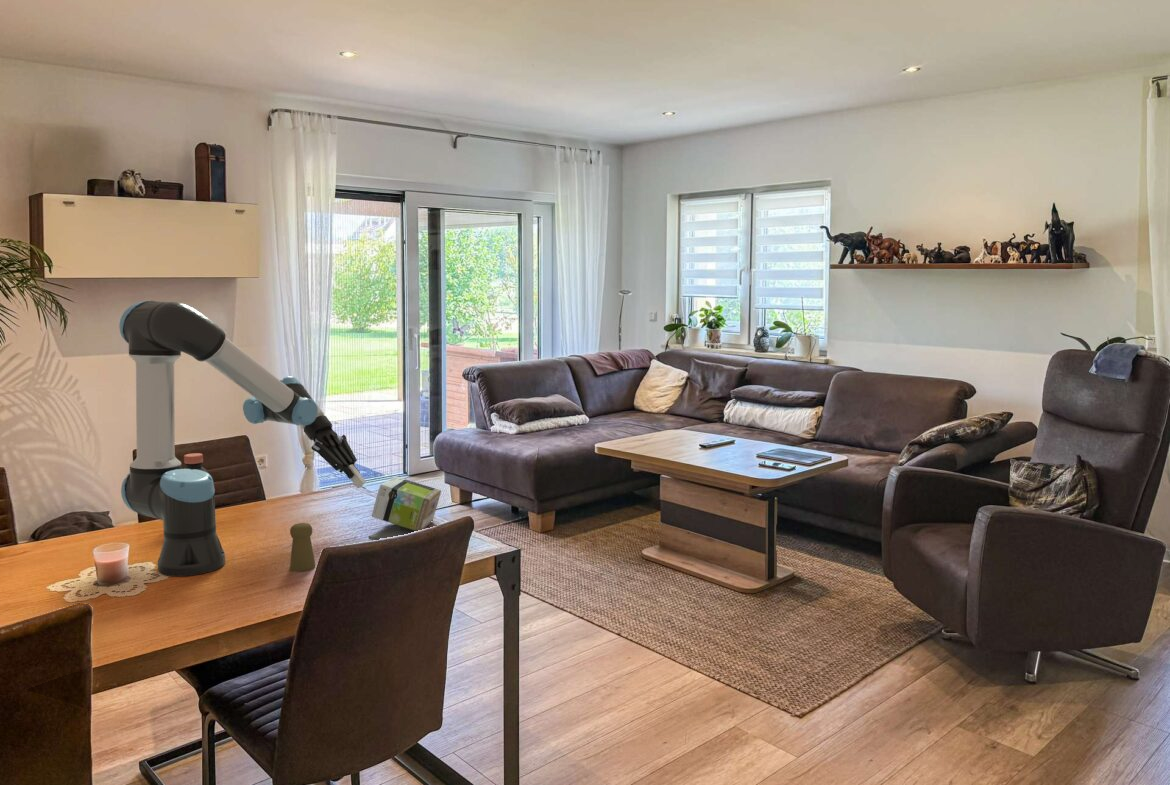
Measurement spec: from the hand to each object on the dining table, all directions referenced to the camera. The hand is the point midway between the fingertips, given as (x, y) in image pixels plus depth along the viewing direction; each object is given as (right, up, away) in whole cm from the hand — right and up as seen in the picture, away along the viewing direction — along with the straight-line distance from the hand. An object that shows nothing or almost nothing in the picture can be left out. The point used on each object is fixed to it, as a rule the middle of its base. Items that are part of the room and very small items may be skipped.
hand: (361, 485), depth 242 cm
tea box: (+6, -3, 0) cm, 7 cm away
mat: (+12, -13, -4) cm, 18 cm away
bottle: (-49, -12, +5) cm, 51 cm away
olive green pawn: (-6, -17, -32) cm, 37 cm away
